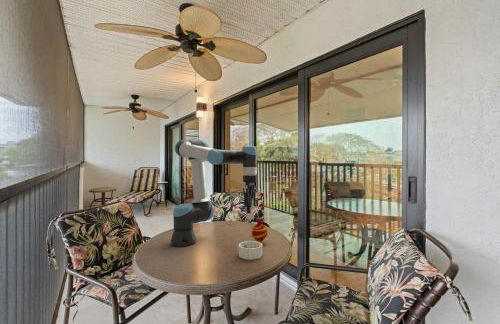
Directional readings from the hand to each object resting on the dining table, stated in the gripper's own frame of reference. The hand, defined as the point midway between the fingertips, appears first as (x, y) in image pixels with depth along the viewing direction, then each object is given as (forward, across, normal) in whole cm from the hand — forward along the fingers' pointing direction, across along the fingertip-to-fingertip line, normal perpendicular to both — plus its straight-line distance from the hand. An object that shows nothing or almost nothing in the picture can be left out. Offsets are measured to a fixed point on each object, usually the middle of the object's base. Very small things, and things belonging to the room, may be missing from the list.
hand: (250, 218), depth 137 cm
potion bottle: (+20, +21, +3) cm, 29 cm away
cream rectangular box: (0, 0, 0) cm, 0 cm away
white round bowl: (+20, 0, 0) cm, 20 cm away
